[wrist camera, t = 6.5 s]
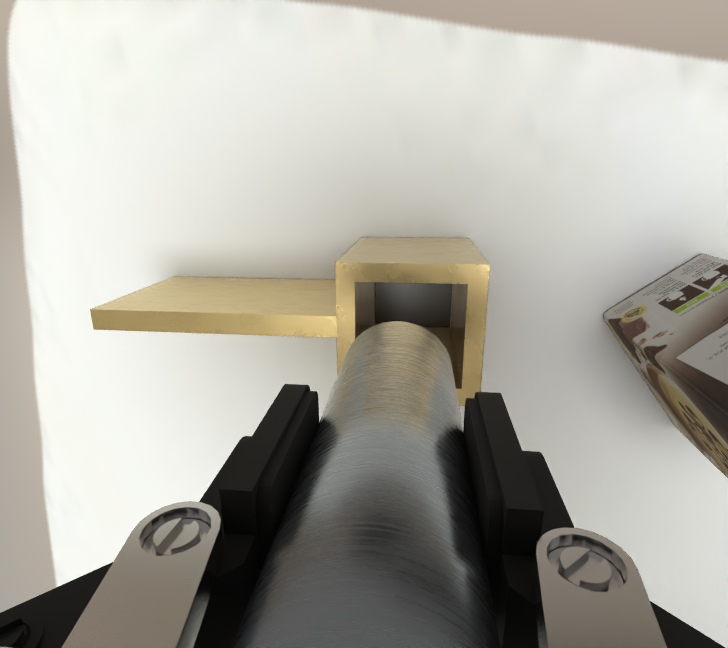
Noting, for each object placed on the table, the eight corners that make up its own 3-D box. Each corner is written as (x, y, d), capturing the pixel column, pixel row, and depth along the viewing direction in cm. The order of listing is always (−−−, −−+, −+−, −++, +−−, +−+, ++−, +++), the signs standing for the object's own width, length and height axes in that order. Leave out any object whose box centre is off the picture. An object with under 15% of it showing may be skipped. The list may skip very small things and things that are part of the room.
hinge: (468, 238, 27) (489, 264, 19) (452, 506, 33) (463, 622, 24) (168, 235, 29) (65, 257, 21) (199, 487, 35) (126, 588, 26)
